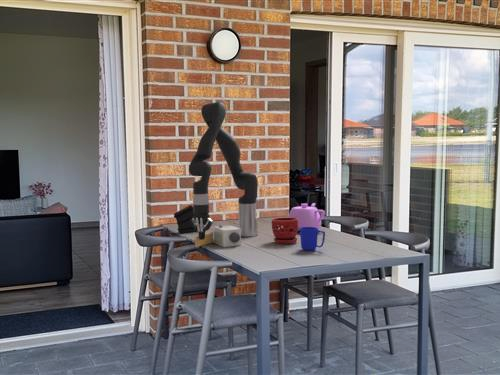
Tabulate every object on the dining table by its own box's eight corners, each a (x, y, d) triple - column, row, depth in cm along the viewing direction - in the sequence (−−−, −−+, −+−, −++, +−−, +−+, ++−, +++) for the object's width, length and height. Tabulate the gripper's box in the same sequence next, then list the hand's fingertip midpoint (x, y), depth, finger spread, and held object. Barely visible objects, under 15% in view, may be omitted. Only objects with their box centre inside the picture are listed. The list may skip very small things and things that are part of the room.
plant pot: (300, 240, 289) (300, 216, 287) (295, 245, 276) (295, 220, 275) (275, 239, 292) (275, 216, 291) (268, 244, 279) (268, 219, 278)
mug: (320, 253, 257) (320, 231, 256) (296, 250, 264) (296, 228, 263) (328, 249, 264) (328, 228, 263) (304, 247, 271) (304, 226, 270)
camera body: (230, 240, 289) (230, 223, 288) (242, 245, 276) (242, 227, 275) (213, 242, 285) (212, 225, 284) (224, 247, 272) (224, 229, 271)
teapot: (318, 234, 306) (318, 206, 304) (283, 231, 316) (283, 204, 315) (335, 228, 325) (335, 202, 324) (301, 225, 336) (301, 200, 335)
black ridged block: (204, 229, 317) (192, 205, 314) (183, 240, 314) (170, 216, 311) (202, 228, 320) (190, 204, 317) (181, 239, 317) (169, 215, 314)
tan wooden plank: (213, 242, 285) (213, 232, 285) (197, 247, 273) (196, 236, 273) (210, 242, 286) (210, 231, 285) (194, 247, 274) (194, 236, 274)
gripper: (217, 203, 273) (217, 239, 274) (193, 202, 279) (194, 237, 280) (208, 204, 266) (209, 241, 268) (184, 203, 273) (185, 239, 274)
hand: (201, 239), depth 274 cm, fingers closed
